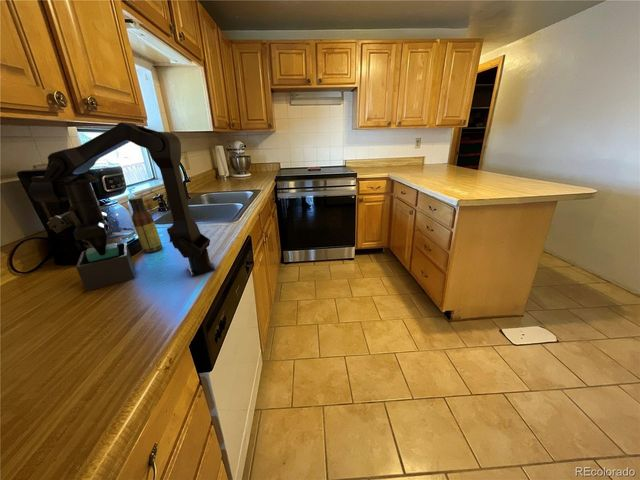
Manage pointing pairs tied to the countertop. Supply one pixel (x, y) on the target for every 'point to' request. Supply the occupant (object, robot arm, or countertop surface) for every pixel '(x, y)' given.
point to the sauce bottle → (144, 226)
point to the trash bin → (106, 269)
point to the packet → (109, 252)
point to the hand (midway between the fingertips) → (103, 252)
